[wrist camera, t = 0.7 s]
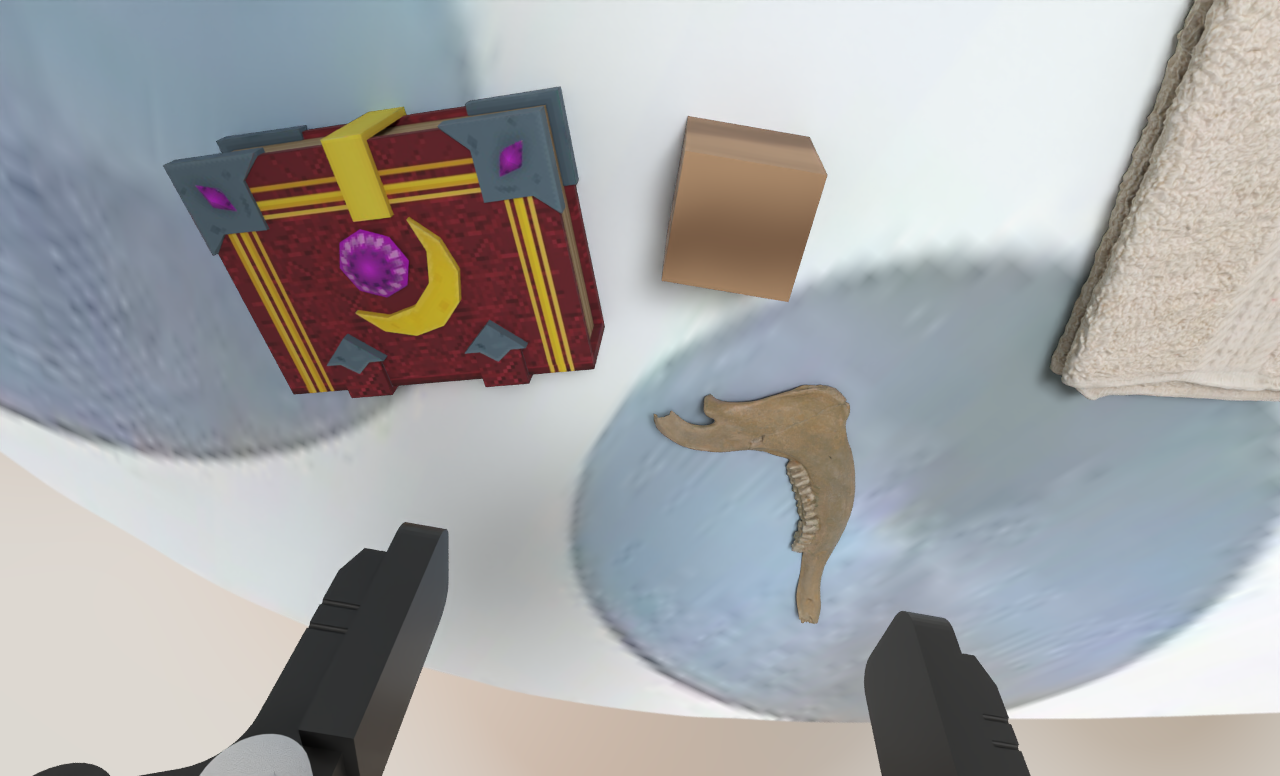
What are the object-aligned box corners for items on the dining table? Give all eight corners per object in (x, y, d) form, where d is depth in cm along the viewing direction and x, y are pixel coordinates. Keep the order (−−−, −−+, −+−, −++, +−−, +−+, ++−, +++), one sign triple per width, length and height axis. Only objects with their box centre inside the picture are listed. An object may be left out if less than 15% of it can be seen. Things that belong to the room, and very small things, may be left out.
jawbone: (807, 323, 33) (816, 343, 31) (935, 567, 43) (947, 593, 41) (649, 401, 36) (650, 424, 34) (803, 616, 45) (810, 642, 44)
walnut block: (688, 115, 27) (684, 150, 23) (809, 136, 27) (827, 174, 23) (667, 231, 30) (661, 280, 26) (777, 249, 30) (788, 301, 26)
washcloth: (1035, 376, 33) (1062, 414, 31) (1190, -57, 23) (1249, -54, 21) (1294, 380, 32) (1344, 419, 30) (1575, -72, 22) (1687, -71, 20)
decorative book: (610, 326, 33) (597, 383, 29) (314, 354, 36) (263, 410, 32) (561, 81, 27) (536, 110, 23) (206, 135, 30) (125, 170, 25)
